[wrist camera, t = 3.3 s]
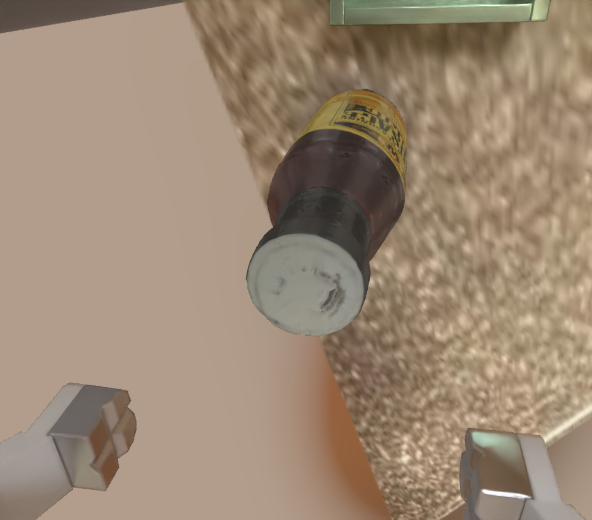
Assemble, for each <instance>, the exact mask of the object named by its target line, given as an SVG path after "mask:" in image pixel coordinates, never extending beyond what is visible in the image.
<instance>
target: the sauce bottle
mask: <svg viewBox="0 0 592 520" xmlns="http://www.w3.org/2000/svg"><path fill="white" fill-rule="evenodd" d="M406 150H407V134H406V128H405V125H404V122H403V119H402V117H401V115H400V113H399V111H398V110H397V108H396V107H395V106H394V105H393V104H392V103H391V102H390V101H388V100H387V99H386V98H384V97H383V96H381V95H379V94H377V93H375V92H373V91H371V90H368V89H363V90H350V91H345V92H342V93H340V94H337V95H335V96H333V97H332V98H330V99H329V100H327V101H326V102H325V103H324V104H323V105H322V106H321V107H320V108H319V109H318V111H317V112H316V113H315V115H314V116H313V117H312V119H311V120H310V122H309V123H308V125H307V126H306V127H305V129H304V130H303V131H302V133H301V134H300V135H299V137H298V138H297V139H296V141H295V142H294V143H293V145H292V146H291V147H290V149H289V150H288V152H287V153H286V155H285V157H284V159H283V161H282V163H280V164H279V166H278V168H277V170H276V172H275V174H274V177H273V179H272V183H271V185H270V190H269V194H268V200H267V205H268V210H269V214H270V219H271V222H272V225H273V228H272V229H271V230H269V231H268V232H267V233H266V234H265V235H264V236H263V238H262V239H261V240H260V242H259V244H258V246H257V247H256V249H255V251H254V253H253V255H252V258H251V260H250V263H249V266H248V270H247V276H246V280H247V283H248V291H249V294H250V297H251V299H252V301H253V303H254V305H255V307H256V308H257V309H258V310H259V311H260V312H261V313H262V314H263V315H264V316H265V317H266V318H267V319H268V320H269V321H270V322H271V323H272V324H273V325H275V326H277V327H279V328H280V329H283V330H285V331H287V332H290V333H293V334H303V335H306V336H323V335H327V334H331V333H334V332H336V331H338V330H340V329H343V328H344V327H346V326H347V325H348V324H349V323H350V322H352V321H353V320H354V319H355V318H356V317H357V316H358V314H359V313H360V311H361V308H362V306H363V304H364V301H365V298H366V294H367V290H368V285H369V281H370V266H369V261H370V260H371V259H372V258H373V257H374V255H375V254H376V252H377V251H378V249H379V248H380V246H381V245H382V243H383V242H384V240H385V239H386V237H387V236H388V234H389V232H390V231H391V229H392V228H393V226H394V225H395V223H396V222H397V220H398V219H399V217H400V215H401V213H402V211H403V207H404V202H405V188H406V182H405V181H406Z"/></svg>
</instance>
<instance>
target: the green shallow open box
mask: <svg viewBox="0 0 592 520" xmlns="http://www.w3.org/2000/svg"><path fill="white" fill-rule="evenodd" d="M550 1H551V0H329V25H330V26H343V25H395V24H443V23H492V22H529V21H531V22H537V21H546V20H547V16H548V11H549V6H550Z"/></svg>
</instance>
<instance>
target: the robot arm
mask: <svg viewBox="0 0 592 520" xmlns="http://www.w3.org/2000/svg"><path fill="white" fill-rule="evenodd" d="M130 401H131V400H130V397H129V394H128V391H126V390H122V389H115V388H108V387H100V386H93V385H84V384H77V383H68V384H66V385H65V386H63V387H62V389H61V390H60V391H59V392H58V394H57V395H56V396H55V397H54V398H53V400H52V401H51V402H50V403H49V405H48V406H47V407H46V409H45V410H44V411H43V412H42V413H41V414H40V416H39V417H38V418H37V419H36V421H35V422H34V423H33V424H32V425H31V427H30V428H29V429H28V430H27V432H19V433H17V434H16V435H14V436H12V437H10V438H8V439H6V440H5V441H3V442H1V443H0V520H36V519H37V518H38V517H39V516H41V515H42V514H43V513H44V512H46V511H47V510H48V509H49V508H51V507H52V506H53V505H54V504H56V503H57V502H58V501H59V500H60V499H62V498H63V497H64V496H65V495H67V494H68V493H69V492H70V491H72V490H73V488H72V487H74V488H83V489H92V490H100V491H106V490H107V488H108V486H109V484H110V483H111V481H112V479H113V477H114V476H115V474H116V472H117V470H118V468H119V464H118V458H119V457H121V456H122V455H124V454H125V453H127V452H128V451H129V449H130V447H131V445H132V443H133V441H134V437H135V433H136V418H135V414H134V413H133V412H132V411H131V410H130V409H129V408H128V407H127V406H128V405H129V403H130ZM465 447H466V450H465V451H464V452H463V453H462V455H461V461H460V474H459V477H460V491H461V497H462V498H463V500H464V501H465V502H466V505H465V510H464V515H463V518H464V520H586V519H585V518H584V517H583V516H582V515H581V514H580V513H579V512H578V511H577V510H576V509H575V508H574V507H573V506H572V505H570V504H564V503H563V500H562V497H561V494H560V491H559V487H558V484H557V481H556V478H555V475H554V471H553V468H552V465H551V462H550V459H549V456H548V452H547V449H546V446H545V443H544V439H543V438H542V437H541V436H540V435H532V434H523V433H514V432H506V431H496V430H486V429H476V428H468V429H467V431H466V435H465Z"/></svg>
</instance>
